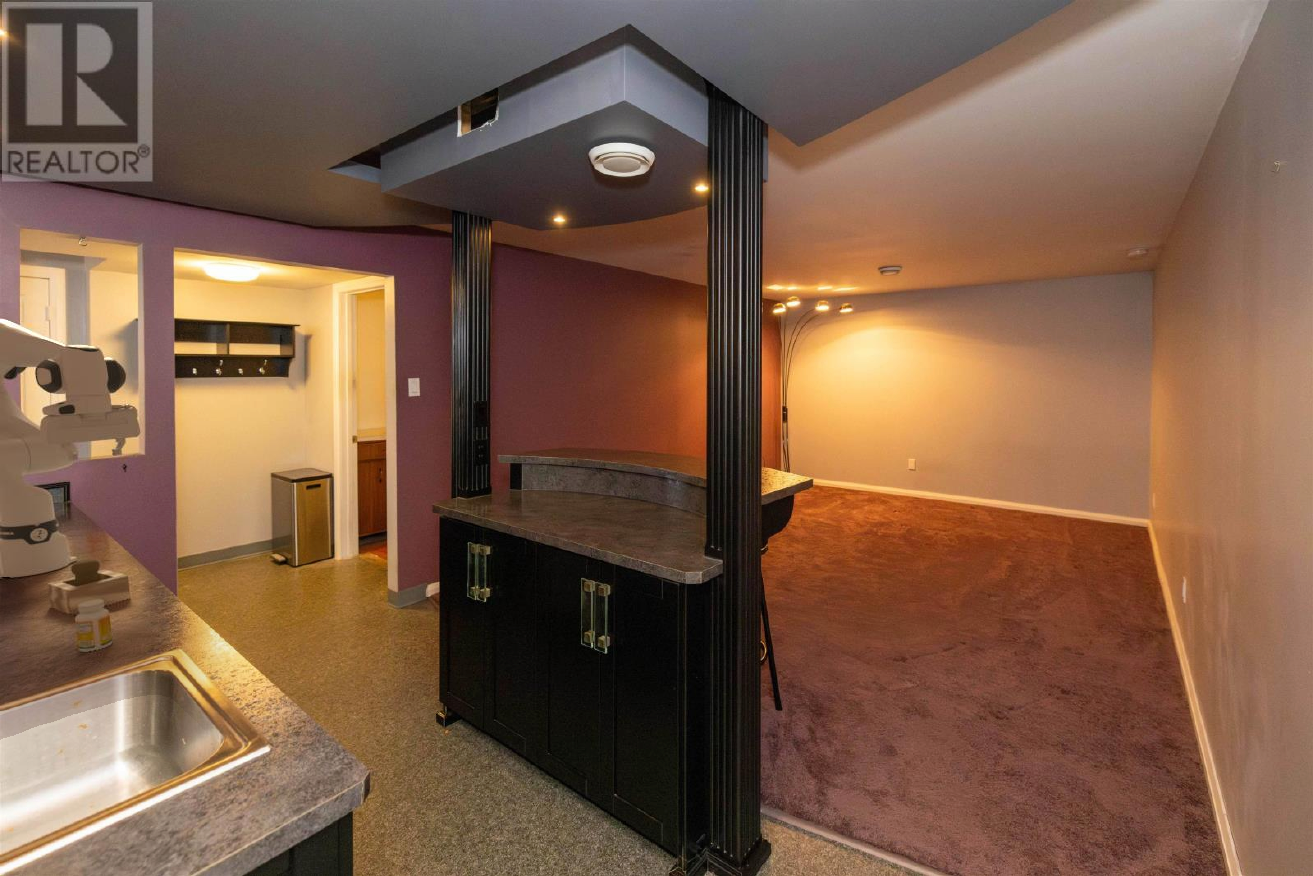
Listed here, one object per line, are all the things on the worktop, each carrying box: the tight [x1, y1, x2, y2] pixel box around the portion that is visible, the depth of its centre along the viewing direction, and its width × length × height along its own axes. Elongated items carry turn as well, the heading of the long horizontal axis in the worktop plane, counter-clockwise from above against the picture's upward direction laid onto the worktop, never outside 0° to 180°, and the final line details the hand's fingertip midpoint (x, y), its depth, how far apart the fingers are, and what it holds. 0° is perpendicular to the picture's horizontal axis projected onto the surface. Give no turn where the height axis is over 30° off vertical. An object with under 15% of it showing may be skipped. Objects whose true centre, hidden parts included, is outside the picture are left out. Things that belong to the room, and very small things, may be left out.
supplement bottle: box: [74, 599, 113, 653], centre depth 129 cm, size 5×5×10 cm
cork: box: [70, 558, 101, 587], centre depth 154 cm, size 6×6×11 cm
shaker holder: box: [47, 569, 131, 616], centre depth 154 cm, size 11×11×6 cm
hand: (95, 457), depth 167 cm, fingers open, 8 cm apart
